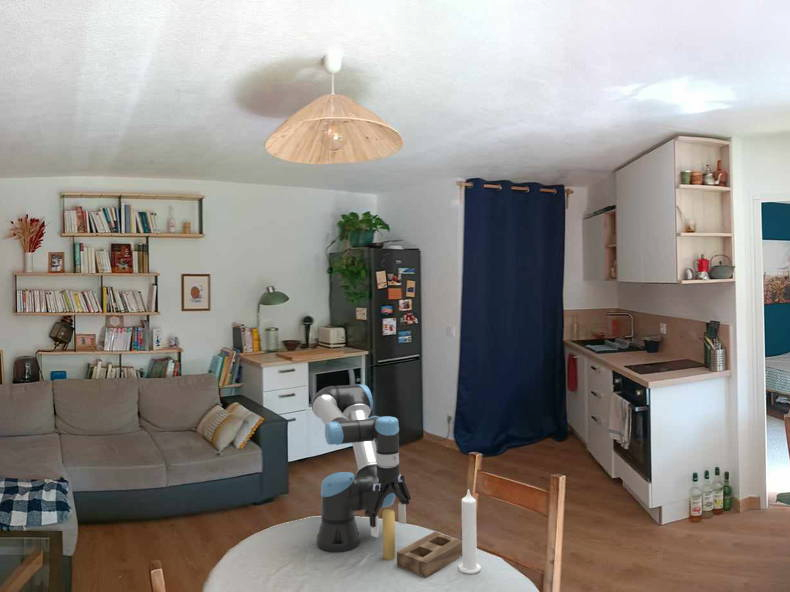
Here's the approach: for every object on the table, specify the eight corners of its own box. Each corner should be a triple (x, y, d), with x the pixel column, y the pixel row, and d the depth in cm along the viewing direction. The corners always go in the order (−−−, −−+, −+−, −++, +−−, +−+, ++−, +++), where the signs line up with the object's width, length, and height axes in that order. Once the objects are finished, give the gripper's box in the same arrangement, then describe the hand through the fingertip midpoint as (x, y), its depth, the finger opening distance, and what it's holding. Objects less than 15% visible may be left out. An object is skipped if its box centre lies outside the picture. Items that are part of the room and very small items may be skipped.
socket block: (396, 565, 183) (396, 551, 183) (434, 544, 198) (434, 531, 198) (426, 577, 175) (426, 563, 175) (463, 554, 190) (463, 541, 190)
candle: (480, 575, 176) (479, 493, 176) (457, 573, 177) (456, 492, 177) (481, 564, 183) (480, 486, 183) (459, 562, 184) (458, 485, 184)
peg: (380, 557, 189) (379, 512, 189) (388, 553, 192) (388, 508, 192) (389, 561, 186) (388, 515, 186) (397, 556, 189) (397, 511, 189)
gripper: (370, 476, 177) (371, 545, 177) (420, 458, 196) (421, 520, 195) (352, 471, 182) (354, 538, 182) (403, 454, 200) (404, 515, 200)
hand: (389, 529), depth 188 cm, fingers open, 13 cm apart
